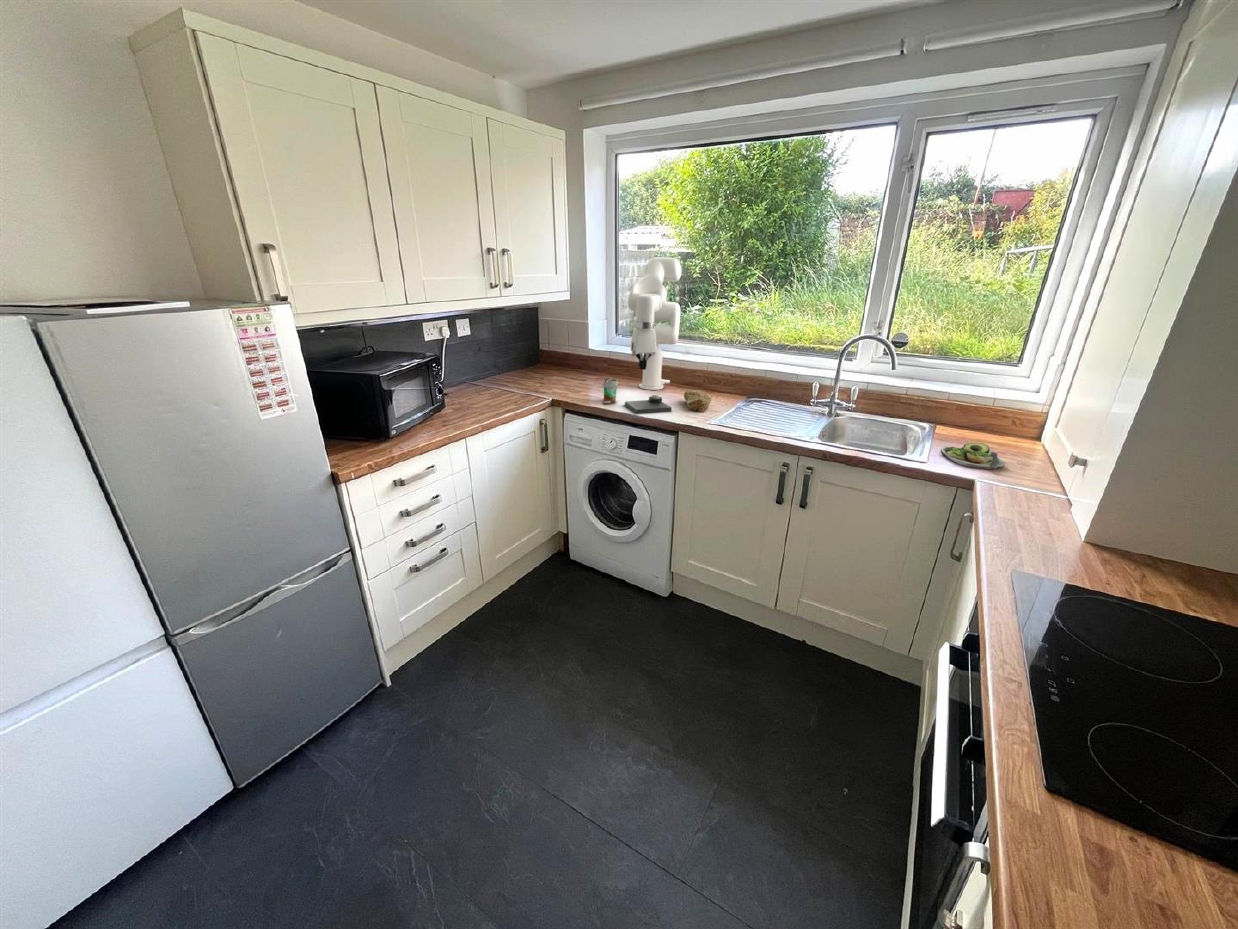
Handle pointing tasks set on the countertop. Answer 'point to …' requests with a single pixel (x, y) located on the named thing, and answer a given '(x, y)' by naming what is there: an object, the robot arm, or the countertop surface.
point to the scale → (648, 406)
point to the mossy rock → (697, 400)
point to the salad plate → (973, 456)
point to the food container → (610, 390)
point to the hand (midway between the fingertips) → (642, 369)
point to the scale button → (655, 396)
